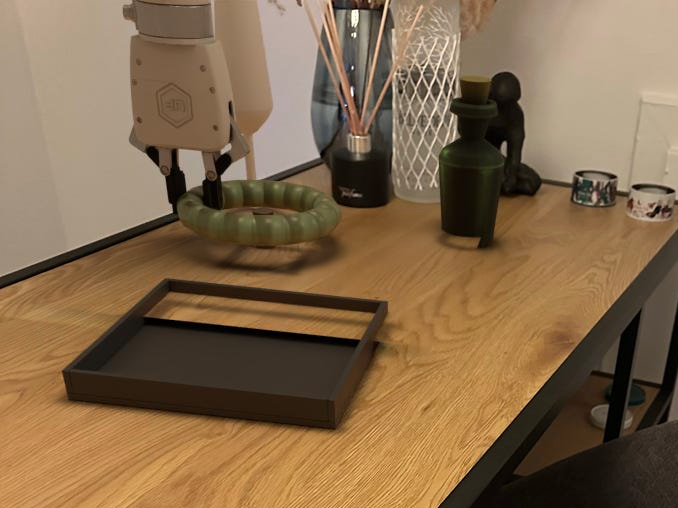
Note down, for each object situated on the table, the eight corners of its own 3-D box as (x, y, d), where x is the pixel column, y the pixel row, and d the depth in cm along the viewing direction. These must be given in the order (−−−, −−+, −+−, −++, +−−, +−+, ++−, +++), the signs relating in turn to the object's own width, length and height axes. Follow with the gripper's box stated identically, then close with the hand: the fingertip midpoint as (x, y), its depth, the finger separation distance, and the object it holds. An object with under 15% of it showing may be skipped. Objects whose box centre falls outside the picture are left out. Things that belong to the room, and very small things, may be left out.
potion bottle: (503, 235, 122) (515, 76, 111) (493, 254, 116) (504, 88, 104) (442, 227, 123) (448, 69, 111) (429, 246, 117) (433, 81, 105)
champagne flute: (286, 211, 124) (272, -7, 109) (273, 226, 119) (256, -1, 104) (237, 207, 124) (215, -12, 109) (221, 222, 119) (196, -6, 104)
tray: (68, 399, 80) (61, 370, 78) (168, 302, 97) (164, 277, 96) (335, 429, 79) (334, 400, 77) (388, 326, 96) (388, 300, 95)
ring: (155, 239, 100) (151, 209, 98) (208, 197, 114) (205, 171, 112) (321, 256, 100) (320, 226, 98) (353, 212, 114) (353, 186, 112)
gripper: (81, 19, 93) (113, 214, 105) (242, 35, 92) (257, 230, 104) (112, 11, 99) (140, 197, 110) (264, 26, 98) (276, 212, 110)
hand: (197, 211), depth 107 cm, fingers closed on ring, 3 cm apart
